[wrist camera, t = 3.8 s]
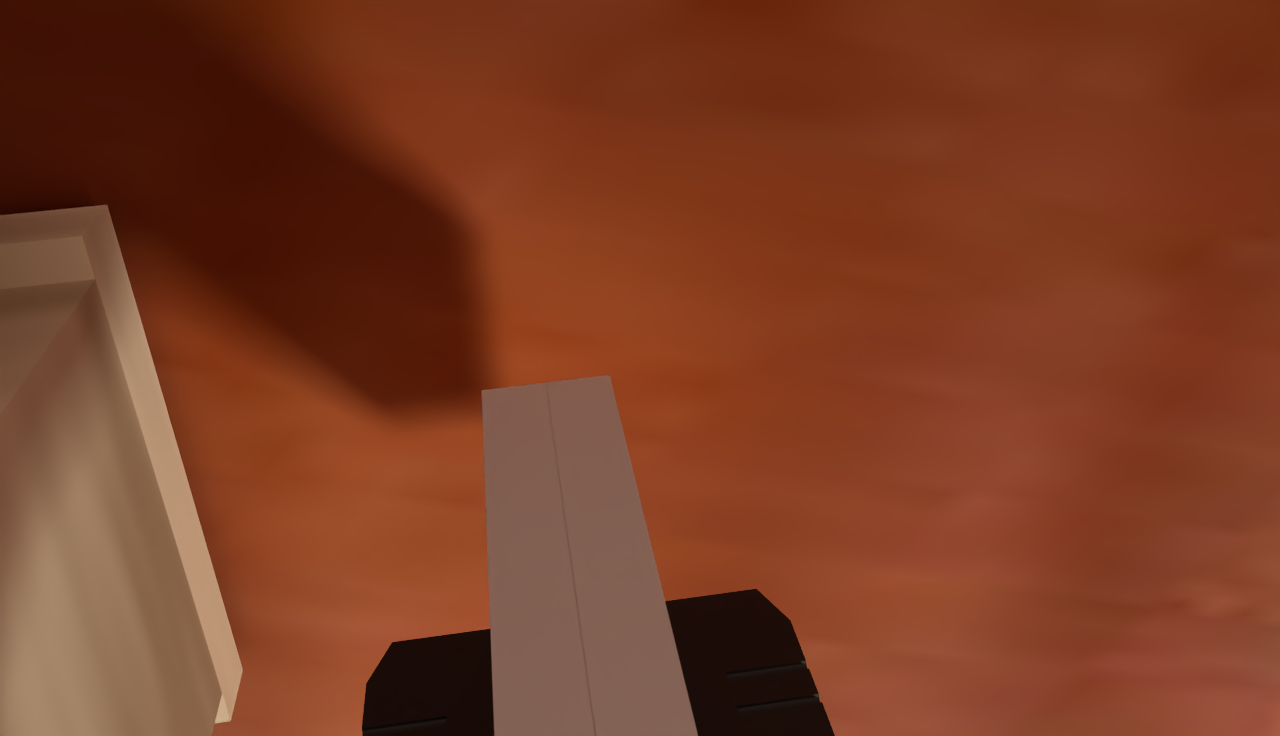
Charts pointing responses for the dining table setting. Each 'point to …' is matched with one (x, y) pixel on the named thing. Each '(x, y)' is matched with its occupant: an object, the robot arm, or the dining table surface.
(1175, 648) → the dining table surface
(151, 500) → the paddle
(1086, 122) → the dining table surface
